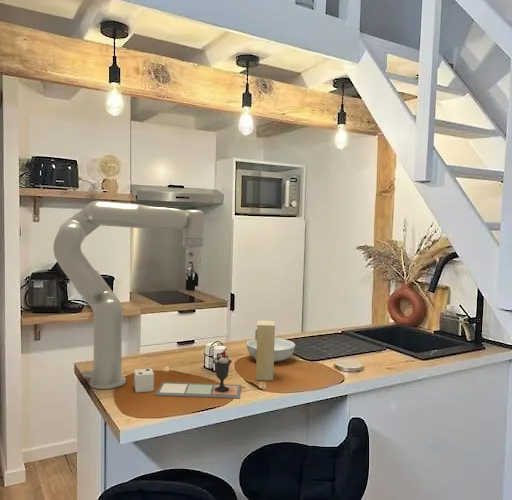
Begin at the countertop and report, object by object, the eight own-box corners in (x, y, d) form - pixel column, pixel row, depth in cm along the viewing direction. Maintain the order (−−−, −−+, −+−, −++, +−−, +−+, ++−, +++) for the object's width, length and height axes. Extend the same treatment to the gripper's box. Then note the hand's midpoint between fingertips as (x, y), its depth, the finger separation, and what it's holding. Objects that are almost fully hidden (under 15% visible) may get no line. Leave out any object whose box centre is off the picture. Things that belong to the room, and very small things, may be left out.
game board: (154, 395, 162) (154, 394, 162) (162, 382, 174) (162, 381, 174) (239, 398, 162) (239, 397, 162) (241, 385, 174) (241, 384, 174)
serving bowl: (304, 359, 207) (305, 343, 207) (272, 370, 192) (272, 353, 191) (268, 349, 221) (269, 334, 221) (235, 358, 206) (236, 342, 206)
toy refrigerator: (254, 373, 188) (256, 320, 186) (273, 373, 188) (275, 320, 186) (253, 380, 180) (255, 324, 178) (273, 380, 180) (275, 325, 178)
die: (135, 392, 164) (136, 375, 164) (134, 386, 170) (134, 369, 169) (153, 390, 166) (153, 373, 166) (151, 384, 172) (151, 368, 171)
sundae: (229, 393, 164) (229, 349, 163) (210, 391, 165) (210, 348, 165) (233, 386, 171) (233, 345, 170) (215, 385, 172) (215, 344, 171)
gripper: (200, 244, 171) (199, 292, 173) (205, 241, 189) (204, 285, 190) (179, 244, 171) (178, 291, 173) (186, 241, 189) (185, 284, 190)
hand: (192, 288), depth 181 cm, fingers open, 9 cm apart
